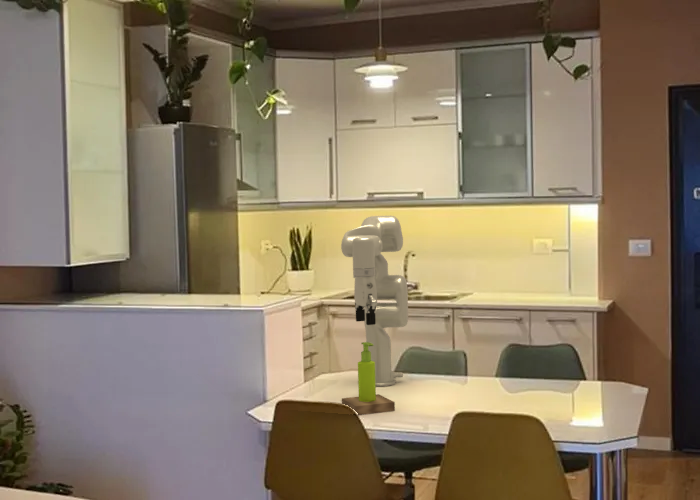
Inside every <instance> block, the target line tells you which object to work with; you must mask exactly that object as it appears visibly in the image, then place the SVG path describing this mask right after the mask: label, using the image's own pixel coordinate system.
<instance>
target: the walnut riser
mask: <svg viewBox="0 0 700 500" xmlns="http://www.w3.org/2000/svg"><path fill="white" fill-rule="evenodd" d="M395 402H396V401H393V400H392V399H389V398H387V397H386V396H383V395H381V394H376V400H375V401H371V402H362V401H359V396H351V397H342V398H341V405H342V404H345V405H348V406H349V407H351V408H352V409H354V410H355V411H356V412H357V413H358V415H357V416H360V415H361V416H362V414H363V415H370V414H378V413H387V412H394V411H396V408H395V407H396V406H395V405H396V403H395Z"/></svg>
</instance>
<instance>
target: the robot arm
mask: <svg viewBox="0 0 700 500" xmlns="http://www.w3.org/2000/svg"><path fill="white" fill-rule="evenodd" d="M403 244H404V237H403V232H402V227H401V223H400V220H399V219H398V218H397V217H396V216H394V215H371V216H368V217H366V218H364V219H363V220H362V223H361V226H358V227H355V228H353V229H350V230H347V231H346V232H345V233H344V234H343V237H342V240H341V245H340V248H341V249H340V250H341V252H342V254H343V256H344V257H346V258H352V273H353V274H352V278H353V279H354V289H353V290H354V291H353V292H354V296H353V297H354V298H353V299H354V305H355V306H354V310H355V321H356V322H363V323H364V329H365V342H370V343H372V344H373V346H368V351H370V352H371V361H374V362H375V386H376V387H387V386H393V385H395V384H396V378H403V377H404V373H403V372H397V371H392V352H391V351H392V349H391V342H392V341H391V337H390V335H389V333H387V331H386V330H385V329H387V328H404V327H406V326H407V324H408V323H409V304H408V303H409V299H408V298H409V297H408V296H409V295H408V294H409V293H408V292H409V291H408V283H407V279H406V277H405V276H404V275H399V274H394V275H393V274H391V275H390V274H389V264H388V261H387V258H385V257H384V255H383V254H382V253H394V252H395V253H396V252H399V251H401V250H402V248H403V246H404V245H403ZM379 300H387V301H388V300H394V301H396V302H378V301H379Z"/></svg>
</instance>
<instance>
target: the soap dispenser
mask: <svg viewBox="0 0 700 500" xmlns="http://www.w3.org/2000/svg"><path fill="white" fill-rule="evenodd" d="M361 345H362V346H363V347H362V348H363V350H362V351H361V353H360V357H361V359H360V361H358V362H357V382H358V383H357V385H358V397H359V401H362V402H371V401H375V400H376V395H377V394H376V393H377V391H376V388H377V386H375V362H374V361H371V352H370V351H368V346H373V344H372V343H370V342H366V341H364V342H361Z"/></svg>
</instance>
